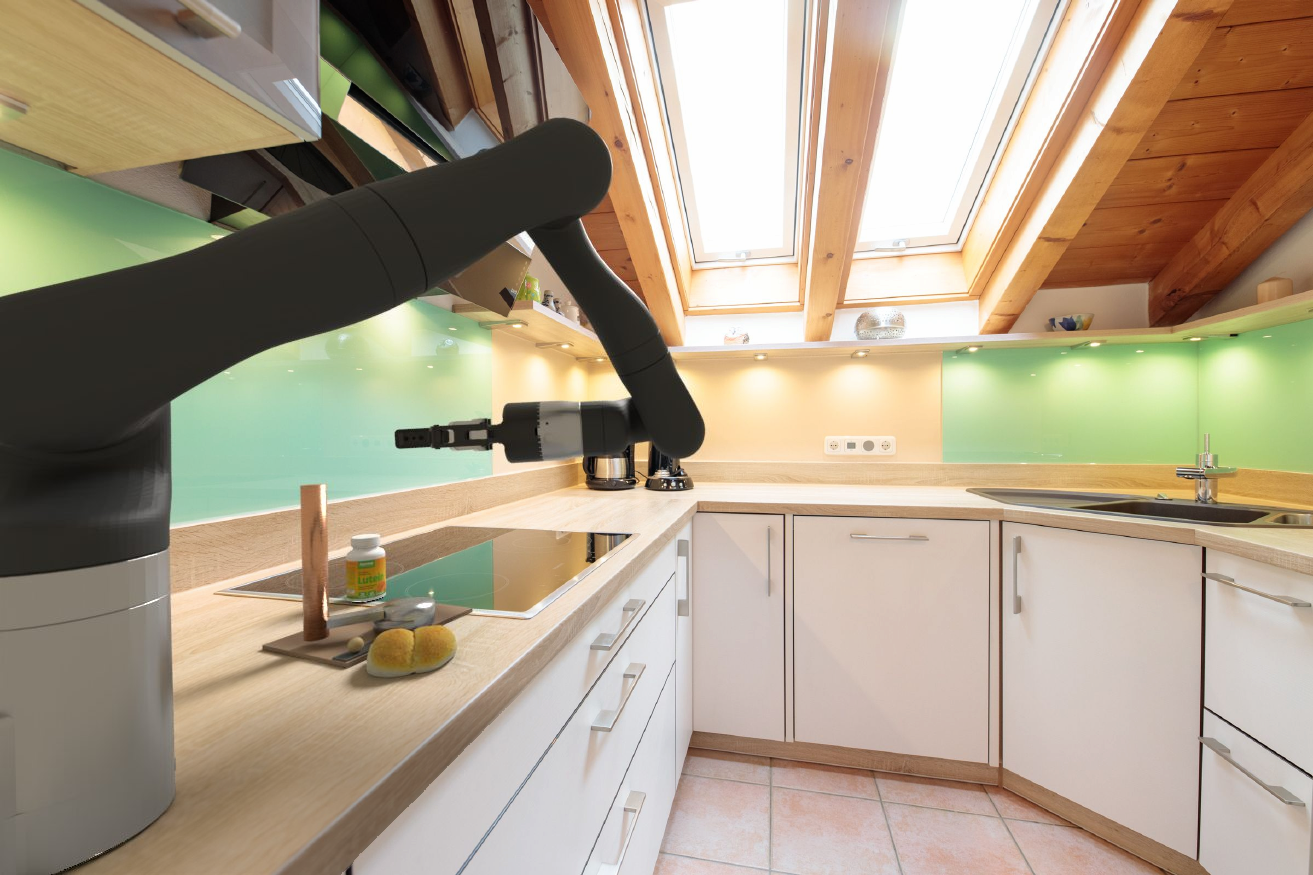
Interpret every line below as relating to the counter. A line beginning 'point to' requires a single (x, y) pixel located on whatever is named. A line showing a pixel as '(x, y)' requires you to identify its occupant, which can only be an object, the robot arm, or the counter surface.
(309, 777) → the counter surface
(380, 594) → the supplement bottle
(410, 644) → the bread roll
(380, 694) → the counter surface
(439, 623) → the stand
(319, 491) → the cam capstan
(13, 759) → the robot arm
